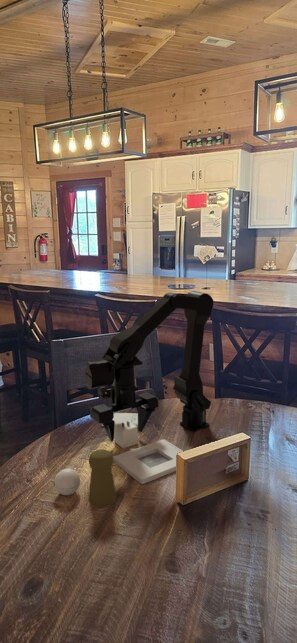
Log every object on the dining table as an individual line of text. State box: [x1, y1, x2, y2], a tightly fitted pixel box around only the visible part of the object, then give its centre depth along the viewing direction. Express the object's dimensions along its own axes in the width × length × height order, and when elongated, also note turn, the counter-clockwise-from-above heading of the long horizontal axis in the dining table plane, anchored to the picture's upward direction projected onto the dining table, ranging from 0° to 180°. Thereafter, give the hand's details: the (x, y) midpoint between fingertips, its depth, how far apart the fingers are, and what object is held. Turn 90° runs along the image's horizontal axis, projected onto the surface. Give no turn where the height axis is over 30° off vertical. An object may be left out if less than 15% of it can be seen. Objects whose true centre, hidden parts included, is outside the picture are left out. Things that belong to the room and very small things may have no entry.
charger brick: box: [114, 421, 139, 449], centre depth 122 cm, size 5×5×6 cm
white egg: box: [53, 468, 81, 496], centre depth 98 cm, size 8×6×6 cm
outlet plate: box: [113, 438, 184, 485], centre depth 112 cm, size 16×13×1 cm
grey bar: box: [112, 447, 135, 457], centre depth 114 cm, size 9×2×1 cm, turn 125°
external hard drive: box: [101, 412, 138, 428], centre depth 136 cm, size 2×8×12 cm
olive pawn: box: [88, 448, 117, 508], centre depth 96 cm, size 6×6×11 cm
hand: (126, 436), depth 122 cm, fingers open, 9 cm apart
